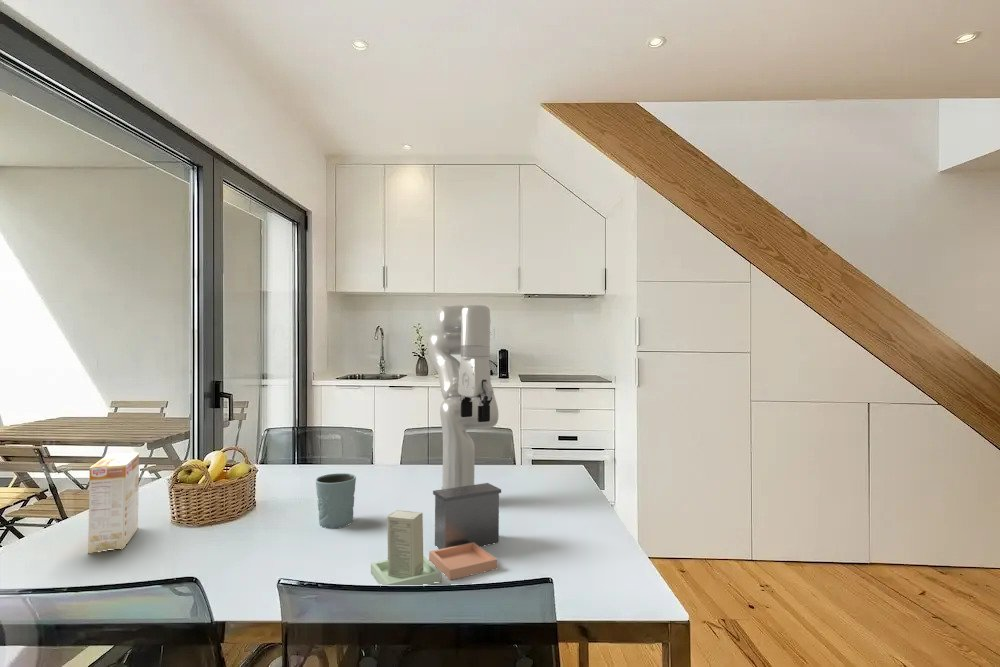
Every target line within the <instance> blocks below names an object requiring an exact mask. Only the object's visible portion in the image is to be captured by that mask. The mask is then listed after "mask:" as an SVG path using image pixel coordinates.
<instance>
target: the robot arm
mask: <svg viewBox="0 0 1000 667" xmlns="http://www.w3.org/2000/svg"><path fill="white" fill-rule="evenodd" d="M435 326H436V330H435V331H433V332H431V333H430V335H429V337H428V341H427V346H428V355H429V358H430V360H431V363H432V365H433V366H434V368H435V370H436V372H437V374H438V380H439V384H440V385H439V387H440V392H441V395H442V398H443V401H442V403H441V405H440V408H439V413H440V415H439V416H440V421H441V429H442V430H441V431H442V486H441V490H442V489H449V488H456V487H462V486H469V485H475V457H476V456H475V452H476V451H475V443H474V442H475V441H474V440H473V439H472V437H471V436H470V434H468V432H467V430H472V429H473V430H475V429H490V428H493V427H495V426H497V424H498V421H499V417H500V416H499V408H498V404H497V403H498V402H497V399H496V397H495V396H496V395H495V393H494V389H493V386H492V381H491V367H490V358H491V357H490V356H491V351H490V350H491V346H490V345H491V344H490V343H491V310H490V308H489V307H488V306H486V305H482V304H471V305H470V304H469V305H465V306H464V305H449V306H448V305H445V306H444V305H443V306H442V305H441V306H439V307H438V309H437V311H436V315H435ZM453 355H460V361H459V360H458V359H457V358H455V357H454V356H453Z"/></svg>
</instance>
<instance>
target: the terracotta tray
mask: <svg viewBox="0 0 1000 667" xmlns="http://www.w3.org/2000/svg"><path fill="white" fill-rule="evenodd" d="M428 556H429V557H428V560H429V561H431V562H432V563H433V564H434V565H435V567H436V568H437V569H438V570H439V571H440V572H441V574H443V573H444V574H445V575H444V574H443V575H444V577H446V576H447V577H448V578H449V579H450V580H449V579H448V578H447V577H446V578H447V579H448V580H449V581H451V579H453V580H456V579H455V578H457V579H461V578H464V577H468V576H467V575H469V576H472V575H471V574H473V575H477V574H476V573H478V574H481V573H480V572H482V573H485V572H484V571H486V572H489V571H488V570H490V571H493V570H492V569H494V570H497V569H498V558H496V557H495V556H493V555H492V554H491V553H490V552H488V550H485V549H484V548H482V546H481V547H480V546H478V545H477V544H476V543H474V542H472V543H467V544H463V545H458V546H453V547H448V548H443V549H439V548H438V549H435V550H434V549H433V550H429V551H428ZM496 568H497V569H496ZM460 577H461V578H460Z"/></svg>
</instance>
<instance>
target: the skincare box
mask: <svg viewBox="0 0 1000 667" xmlns="http://www.w3.org/2000/svg"><path fill="white" fill-rule="evenodd" d="M423 515H424V514H423V512H420V511H411V510H410V511H409V510H398V509H397V510H395V511H393V512H391V513H390V514H388V515H387V517H386V519H387V523H386V524H387V529H386V530H387V560H388V576H394V577H401V578H410V577H414V576H418V575H419V574H421V573H422V572H423V556H424V525H423V523H424V522H423V521H424V519H423V518H424V516H423Z"/></svg>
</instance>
